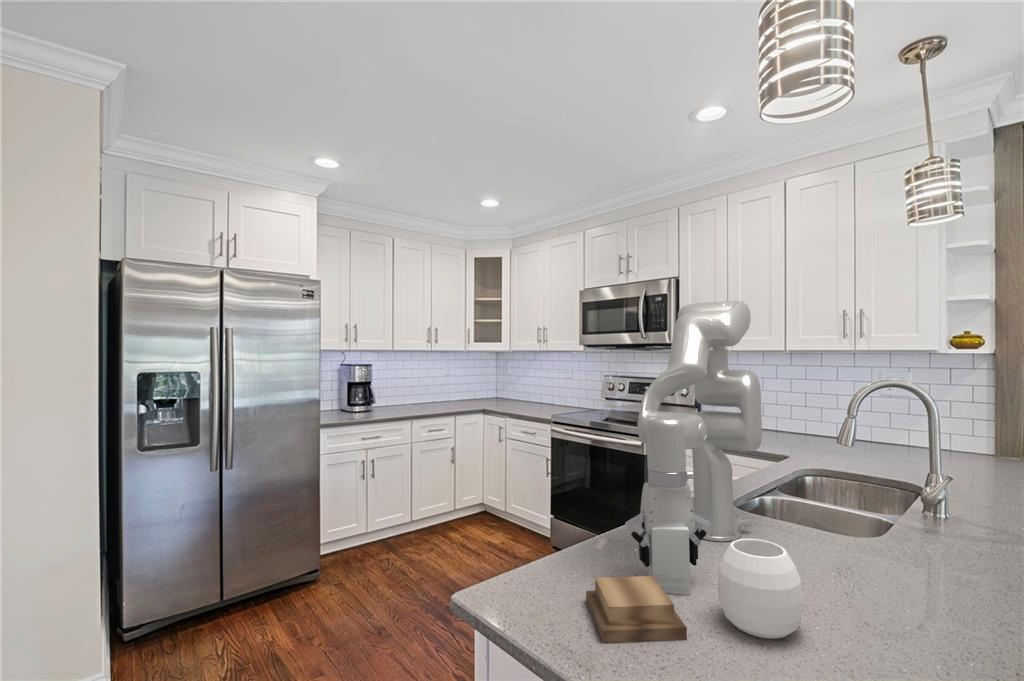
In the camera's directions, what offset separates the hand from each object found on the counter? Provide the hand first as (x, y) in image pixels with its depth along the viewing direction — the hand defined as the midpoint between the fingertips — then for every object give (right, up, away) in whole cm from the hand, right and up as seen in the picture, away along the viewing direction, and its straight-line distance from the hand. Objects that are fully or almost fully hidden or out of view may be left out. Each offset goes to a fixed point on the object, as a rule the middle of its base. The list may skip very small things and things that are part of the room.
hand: (668, 563), depth 102 cm
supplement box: (0, -5, 0) cm, 5 cm away
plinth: (-10, -4, -13) cm, 17 cm away
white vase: (+11, -4, -16) cm, 19 cm away
